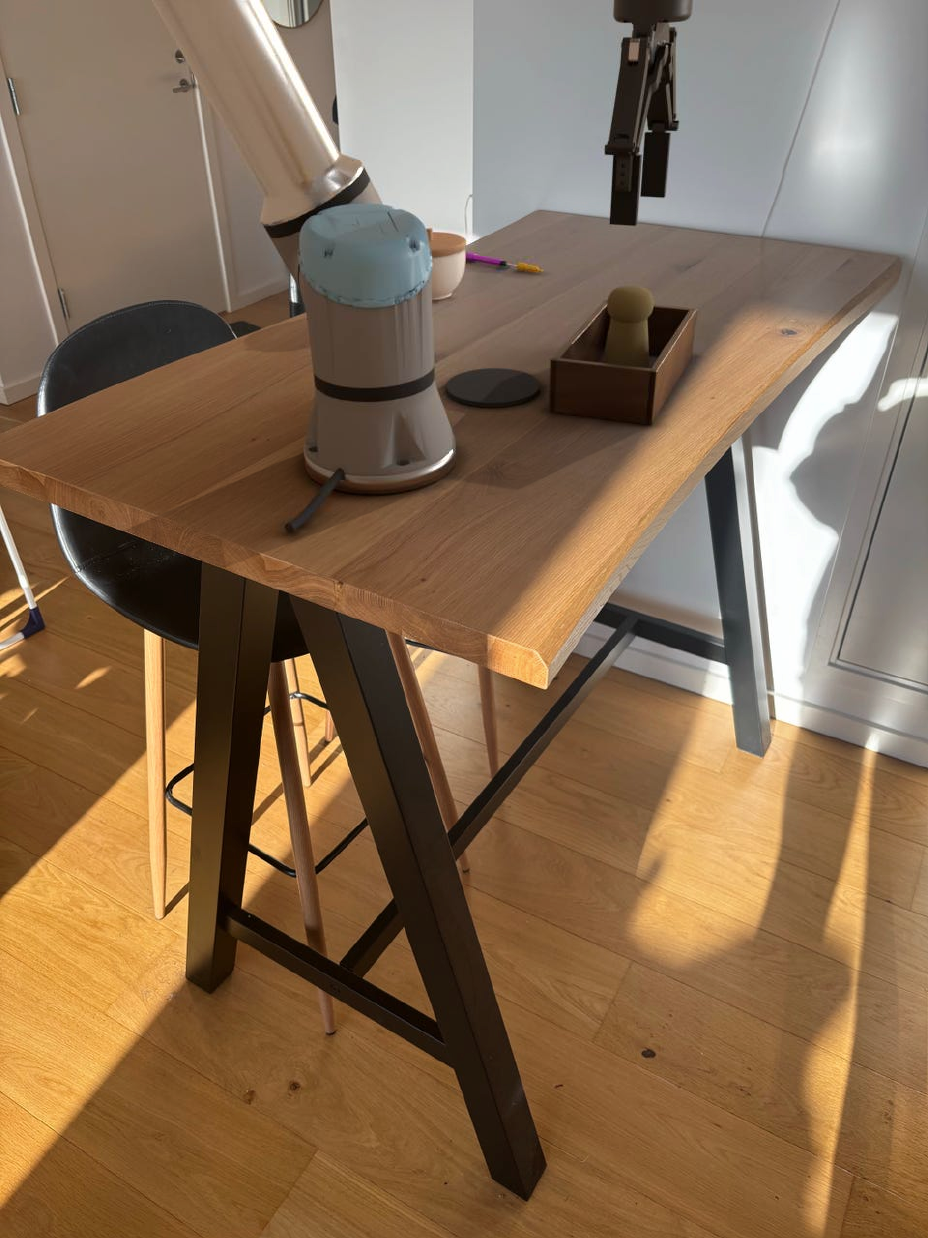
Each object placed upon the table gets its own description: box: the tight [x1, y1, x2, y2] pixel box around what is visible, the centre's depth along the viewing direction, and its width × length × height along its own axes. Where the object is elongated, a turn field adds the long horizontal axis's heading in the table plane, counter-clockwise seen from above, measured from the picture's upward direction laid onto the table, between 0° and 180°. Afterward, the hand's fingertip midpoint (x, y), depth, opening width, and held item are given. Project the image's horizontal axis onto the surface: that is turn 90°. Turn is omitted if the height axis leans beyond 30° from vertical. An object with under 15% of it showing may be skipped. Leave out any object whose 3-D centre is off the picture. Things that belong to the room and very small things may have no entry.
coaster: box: [445, 367, 541, 408], centre depth 115 cm, size 11×11×1 cm
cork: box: [602, 285, 655, 368], centre depth 113 cm, size 6×6×11 cm
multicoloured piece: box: [465, 252, 544, 274], centre depth 159 cm, size 3×1×16 cm
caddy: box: [548, 299, 698, 426], centre depth 114 cm, size 23×12×6 cm, turn 158°
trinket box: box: [425, 227, 467, 301], centre depth 145 cm, size 11×11×9 cm
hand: (638, 210), depth 105 cm, fingers open, 13 cm apart
